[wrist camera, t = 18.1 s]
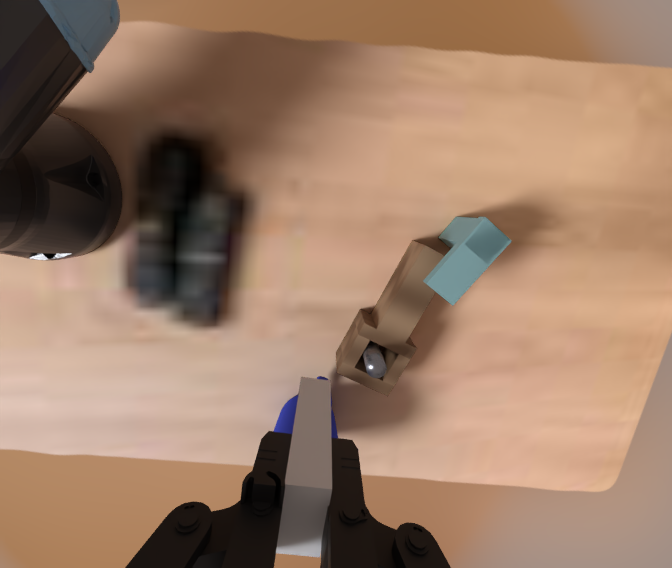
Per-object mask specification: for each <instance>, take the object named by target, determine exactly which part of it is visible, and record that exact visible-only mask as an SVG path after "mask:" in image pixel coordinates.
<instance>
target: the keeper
mask: <svg viewBox="0 0 672 568" xmlns="http://www.w3.org/2000/svg"><path fill="white" fill-rule="evenodd" d="M438 238H439V239H440V240H442V241H443V242H444V243H445V244H446V245H447V246H449V247H450V248H451V249H450V251H449V252H448V253H447V254H446V255H445V256H444V257H443V259H442V260H441V261H440V262H439V263H438V264H437V265H436V267H435V268H434V269H433V270H432V271H431V272H430V273H429V275H428V276H427V277H426V278H425V279H424V280H423V282H425V283H426V284H427V285H428V286H429V287H431V288H432V289H433V290H434V291H435V292H437V293H438V294H439V295H440V296H441V297H443V298H444V299H445V300H446V301H448V302H449V303H450V304H451V305H454V304H455V303H456V302H457V301H458V300H459V298H460V297H461V296H462V295H463V294H464V293H465V292H466V291H467V290H468V289H469V287H470V286H471V285H472V284H473V283H474V282H475V281H476V280H477V279H478V278H479V277H480V275H481V274H482V273H483V272H484V271H485V270H486V269H487V268H488V267H489V266H490V264H491V263H492V262H493V261H494V260H495V259H496V258H497V257H498V256H499V255H500V254H501V252H502V251H503V250H504V249H505V248H506V247H507V246H508V245H509V244H510V243H511V240H510V239H509V238H508V237H507V236H506V235H505V234H504V233H502V232H501V231H500V230H499V229H498V228H497V227H496V226H495V225H494V224H493V223H491V222H490V221H489V220H488V219H487V218H486V217H479V218H468V217H455V218H454V220H453V221H452V222H451V223H450V224H449V225H448V227H447V228H446V229H445V230H444V231H443V232H442V234H441V235H440V236H439V237H438Z"/></svg>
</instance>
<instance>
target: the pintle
mask: <svg viewBox="0 0 672 568" xmlns="http://www.w3.org/2000/svg"><path fill="white" fill-rule="evenodd" d="M363 358H364V362H365V366H366V370H367V373H368V375H369V376H370V377H372V378H380V377H382V376H383V375H384V374H385V373H386V370H387V367H386V364H385V361H384V358H383V356H382V353H381V350H380V348H379V345H378V344H377V343H375V342H373V341H371V340H370V341H369V343H368V345H367V346H366V348H365V350H364V352H363Z"/></svg>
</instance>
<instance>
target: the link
mask: <svg viewBox="0 0 672 568" xmlns="http://www.w3.org/2000/svg"><path fill="white" fill-rule="evenodd" d="M443 257H444V255H442V254H441V253H439V252H437V251H435V250H433V249H431V248H429V247H427V246H426V245H423V244H421V243H418V242H415V241H413V240H412V242H411V243H410V245H409V247H408V249H407V250H406V252H405V254H404V256H403V258H402V259H401V261H400V263H399V265H398V267H397V268H396V270H395V272H394V274H393V275H392V277H391V279H390V281H389V283H388V284H387V286H386V288H385V290H384V291H383V293H382V295H381V297H380V299H379V300H378V302H377V304H376V306H375V307H374V309H373V311H372V313H371V314H369V313H367V312H365V311H363V310H361V309H360V310H359V312H358V314H357V316H356V318H355V319H354V321H353V323H352V325H351V327H350V328H349V330H348V332H347V334H346V336H345V337H344V339H343V341H342V343H341V345H340V347H339V348H338V350H337V352H336V365H337V373H338V374H340V375H342V376H344V377H347V378H349V379H351V380H353V381H355V382H358V383H360V384H362V385H364V386H366V387H369V388H371V389H373V390H375V391H377V392H380V393H382V394H384V395H386V396H388V395H389V394H390V392H391V390H392V389H393V387H394V386H395V384H396V382H397V381H398V379H399V377H400V376H401V374H402V372H403V371H404V369H405V367H406V366H407V364H408V362H409V361H410V359H411V358H412V356H413V354H414V353H415V351H416V349H417V348H416V347H415V345H414V343H413V342H412V340H411V339H410V337H409V336H410V334H411V333H412V331H413V329H414V328H415V326H416V324H417V323H418V321H419V319H420V318H421V316H422V314H423V313H424V311H425V309H426V308H427V306H428V304H429V303H430V301H431V299H432V297H433V296H434V294H435V291H434V290H433V289H432V288H431V287H429V286H428V285H427V284H426V283H425V282H423V280H424V279H425V278H426V277H427V276H428V275H429V273H430V272H431V271H432V270H433V269H434V268H435V267H436V265H437V264H438V263H439V262H440V261H441V260H442V259H443ZM370 340H371V341H373V342H375V343H377V344H379V345H381V346H383V347H384V348H383V350H382V352H381V353H382V356H383V358H384V361H385V364H386V367H387V370H386V373H385V374H384V375H383V376H382V377H380V378H372V377H370V376H369V375H368V373H367V370H366V366H365V362H364V358H363V354H362V353H363V352H364V350H365V348H366V346H367V345H368V343H369V341H370Z"/></svg>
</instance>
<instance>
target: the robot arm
mask: <svg viewBox="0 0 672 568" xmlns="http://www.w3.org/2000/svg"><path fill="white" fill-rule="evenodd" d="M119 22H120V10H119V5H118V2H117V0H0V253H1V254H6V255H12V256H18V257H24V258H30V259H36V260H60V259H66V258H71V257H76V256H80V255H84V254H86V253H89V252H91V251H93V250H95V249H96V248H98V247H99V246H100V245H102V244H103V243H104V242H105V241H106V240H107V239H108V238H109V236H110V235H111V234H112V232H113V230H114V229H115V227H116V225H117V222H118V220H119V216H120V212H121V206H122V192H121V185H120V180H119V177H118V174H117V171H116V168H115V166H114V164H113V162H112V160H111V158H110V156H109V155H108V153H107V152H106V150H105V149H104V148H103V146H102V145H101V144H100V143H99V142H98V141H97V140H96V139H95V137H93V136H92V135H91V134H90V133H89V132H88V131H87V130H85V129H84V128H83V127H81V126H80V125H78V124H76V123H75V122H73V121H71V120H69V119H67V118H65V117H62V116H59V115H56V114H53V111H54V110H55V109H56V108H57V107H58V106H59V104H60V103H61V102H62V101H63V100H64V99H65V97H66V96H67V95H68V94H69V93H70V92H71V90H72V89H73V88H74V87H75V86H76V85H77V83H78V82H79V81H80V80H81V79H82V78H83V76H84V75H85V74H86V73H87V72H89V73H91V72H92V71H93V70H94V61H95V60H96V58H97V57H98V56H99V54H100V53H101V52H102V50H103V49H104V48H105V46H106V45H107V43H108V42H109V41H110V39H111V38H112V37H113V35H114V34H115V32H116V31H117V29H118V26H119ZM276 553H281V554H291V555H302V556H312V557H320V553H321V566H320V568H450V565H449V564H448V562H447V560H446V558H445V556H444V554H443V553H442V551H441V549H440V547H439V545H438V543H437V542H436V540H435V539H434V537H433V536H432V535H431V533H430V532H429V531H427V530H426V529H425V528H424V527H422V526H420V525H418V524H415V523H404V524H402V525H400V526H399V528H398V529H397V530H395V529H393V528H390V527H388V526H386V525H384V524H382V523H380V522H378V521H377V520H376V519H375V518H373V517H372V516H371V514H370V513H369V510H368V509H367V507H366V505H365V502H364V494H363V486H362V478H361V470H360V462H359V454H358V449H357V447H356V446H355V444H354V442H353V441H352V440H347V439H339V438H331V381H330V380H322V379H314V378H306V377H301V382H300V388H299V395H298V401H297V407H296V414H295V420H294V426H293V433H292V434H289V433H281V432H272V431H269V432H268V433H267V434H266V435H265V436H264V437H263V438H262V439H261V442H260V446H259V450H258V453H257V456H256V460H255V463H254V467H253V470H252V472H250V473H249V474H248V475H247V476H246V477H245V479H244V481H243V484H242V493H241V500H240V501H239V502H238V503H236V504H235V505H233V506H231V507H229V508H226V509H222V510H217V511H213V512H211V510H210V509H209V507H208V506H207V505H205V504H203V503H201V502H188V503H184V504H182V505H180V506H178V507H176V508H175V509H174V510H173V511H172V512H171V513H169V515H168V516H167V517H166V518H165V519H164V520H163V522H162V523H161V524H160V525H159V527H158V528H157V529H156V530H155V532H154V533H153V534H152V535H151V537H150V538H149V539H148V540H147V541H146V543H145V544H144V545H143V546H142V548H141V549H140V550H139V551H138V553H137V554H136V555H135V556H134V557H133V559H132V560H131V561H130V562H129V564H128V565H127V566H126V568H274V562H275V555H276Z"/></svg>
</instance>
